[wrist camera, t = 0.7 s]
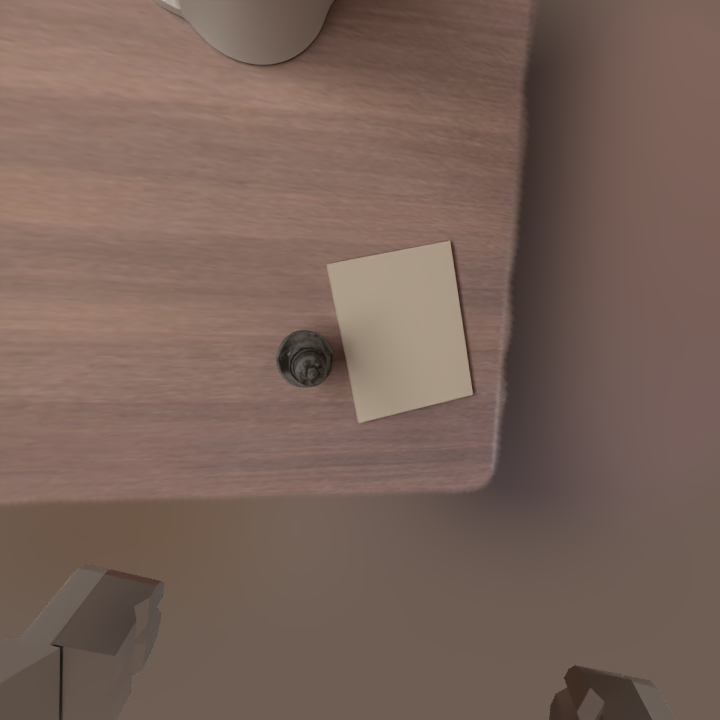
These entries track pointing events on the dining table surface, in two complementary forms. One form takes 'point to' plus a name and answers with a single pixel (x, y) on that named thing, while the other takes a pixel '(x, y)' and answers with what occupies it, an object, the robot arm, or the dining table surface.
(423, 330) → the placemat
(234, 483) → the dining table surface
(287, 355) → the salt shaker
